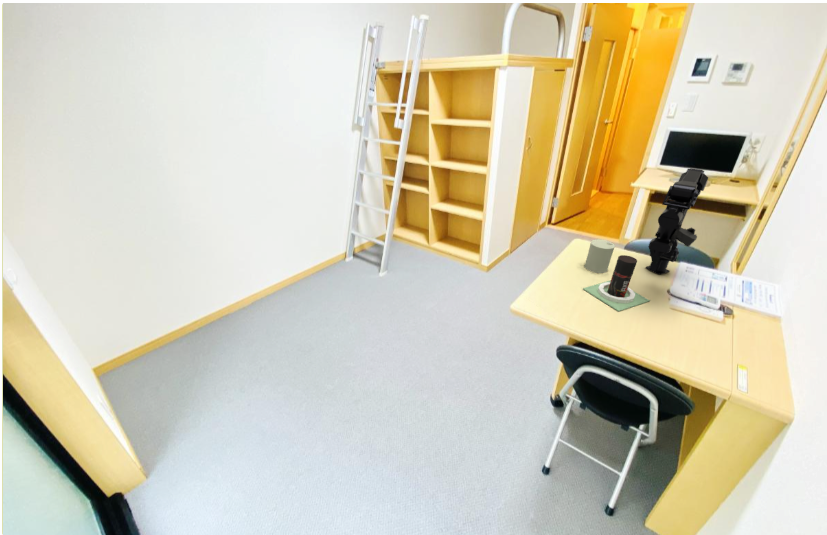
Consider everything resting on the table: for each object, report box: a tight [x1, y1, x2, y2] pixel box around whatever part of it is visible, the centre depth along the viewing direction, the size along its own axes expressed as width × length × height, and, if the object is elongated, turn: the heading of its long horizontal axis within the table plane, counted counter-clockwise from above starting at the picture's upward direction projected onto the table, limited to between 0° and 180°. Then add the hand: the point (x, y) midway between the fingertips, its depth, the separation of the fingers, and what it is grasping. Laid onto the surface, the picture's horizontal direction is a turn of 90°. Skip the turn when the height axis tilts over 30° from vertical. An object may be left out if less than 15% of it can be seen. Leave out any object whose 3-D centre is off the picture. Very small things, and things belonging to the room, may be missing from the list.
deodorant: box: [607, 254, 638, 298], centre depth 126 cm, size 6×6×15 cm
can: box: [583, 238, 616, 274], centre depth 146 cm, size 9×9×12 cm
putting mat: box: [582, 279, 651, 313], centre depth 130 cm, size 16×16×2 cm
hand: (656, 259), depth 127 cm, fingers open, 9 cm apart
